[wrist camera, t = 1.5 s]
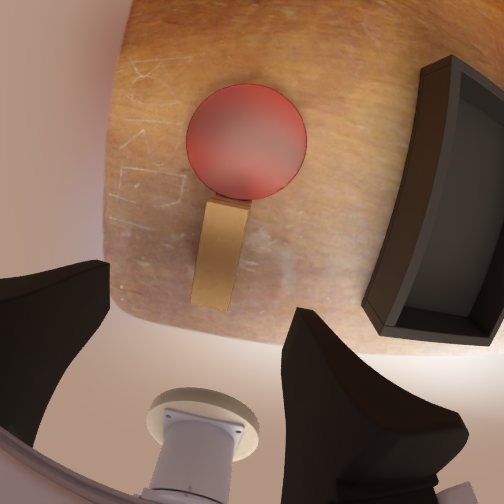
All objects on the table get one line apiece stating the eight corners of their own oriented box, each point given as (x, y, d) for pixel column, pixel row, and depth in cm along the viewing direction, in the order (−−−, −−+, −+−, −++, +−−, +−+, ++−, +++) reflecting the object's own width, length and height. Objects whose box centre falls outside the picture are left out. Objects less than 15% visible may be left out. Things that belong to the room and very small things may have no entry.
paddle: (267, 296, 19) (268, 321, 16) (167, 273, 19) (151, 294, 16) (315, 101, 15) (326, 89, 12) (203, 79, 15) (190, 63, 12)
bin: (466, 323, 20) (489, 346, 16) (360, 305, 19) (378, 336, 16) (520, 134, 14) (551, 136, 11) (421, 68, 14) (451, 53, 10)
